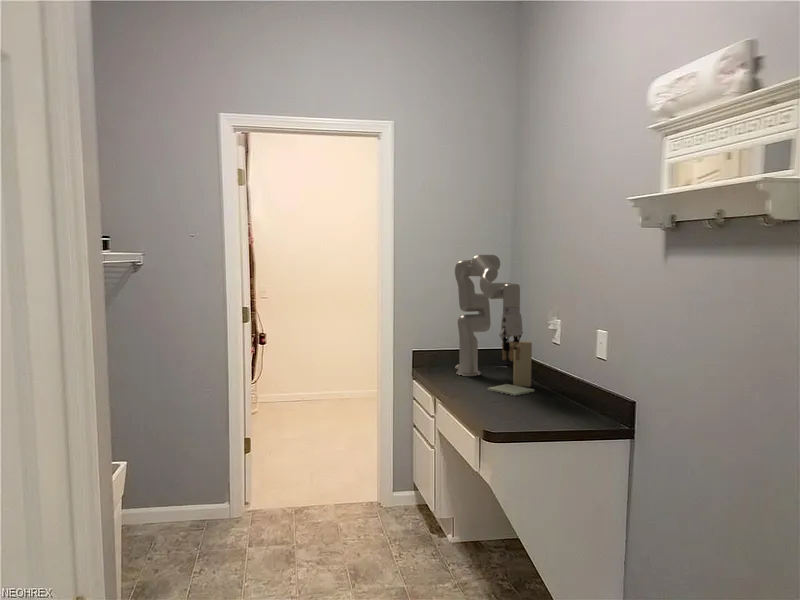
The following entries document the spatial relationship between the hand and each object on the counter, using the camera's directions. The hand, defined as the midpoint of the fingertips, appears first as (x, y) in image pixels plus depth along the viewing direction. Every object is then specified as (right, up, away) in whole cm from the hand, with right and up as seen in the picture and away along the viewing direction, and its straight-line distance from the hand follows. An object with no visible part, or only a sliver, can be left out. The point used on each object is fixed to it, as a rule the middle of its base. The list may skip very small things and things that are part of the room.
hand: (511, 349), depth 266 cm
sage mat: (0, -19, +1) cm, 19 cm away
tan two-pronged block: (0, -5, 0) cm, 5 cm away
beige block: (+8, -18, +14) cm, 24 cm away
